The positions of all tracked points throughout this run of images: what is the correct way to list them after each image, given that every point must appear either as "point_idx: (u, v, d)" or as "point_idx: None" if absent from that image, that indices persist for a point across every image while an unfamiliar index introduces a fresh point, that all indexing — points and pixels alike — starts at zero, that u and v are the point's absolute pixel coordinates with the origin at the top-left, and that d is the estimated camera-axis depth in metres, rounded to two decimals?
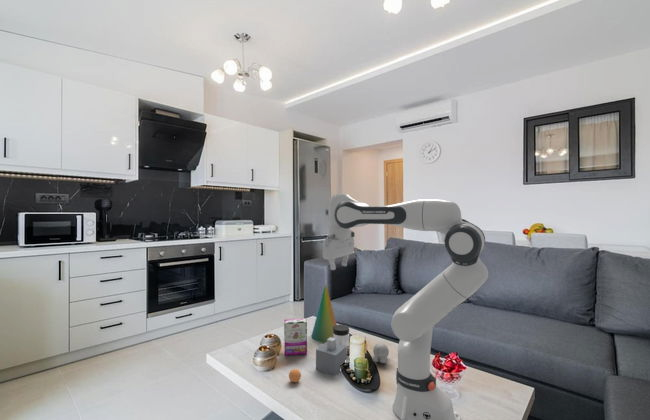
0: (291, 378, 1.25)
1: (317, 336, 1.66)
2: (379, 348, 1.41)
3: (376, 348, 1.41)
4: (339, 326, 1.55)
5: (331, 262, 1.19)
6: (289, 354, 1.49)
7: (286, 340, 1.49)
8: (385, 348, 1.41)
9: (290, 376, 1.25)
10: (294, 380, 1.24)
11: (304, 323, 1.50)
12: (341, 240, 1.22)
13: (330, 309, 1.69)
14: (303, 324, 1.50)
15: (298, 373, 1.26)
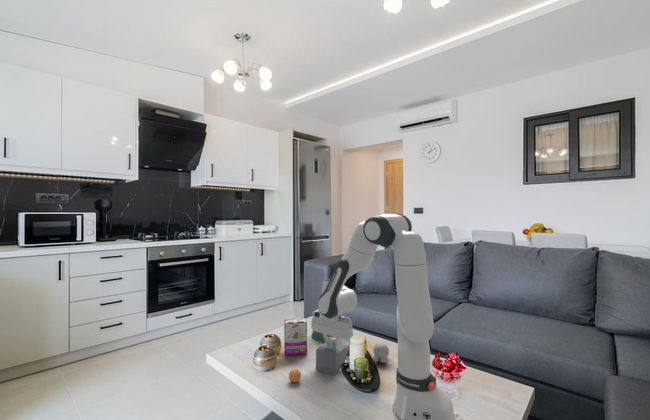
0: (291, 378, 1.25)
1: (317, 336, 1.66)
2: (379, 348, 1.41)
3: (376, 348, 1.42)
4: None
5: (339, 339, 1.36)
6: (289, 354, 1.49)
7: (286, 340, 1.49)
8: (385, 348, 1.41)
9: (290, 376, 1.25)
10: (294, 380, 1.24)
11: (304, 323, 1.50)
12: None
13: None
14: (303, 324, 1.50)
15: (298, 373, 1.26)
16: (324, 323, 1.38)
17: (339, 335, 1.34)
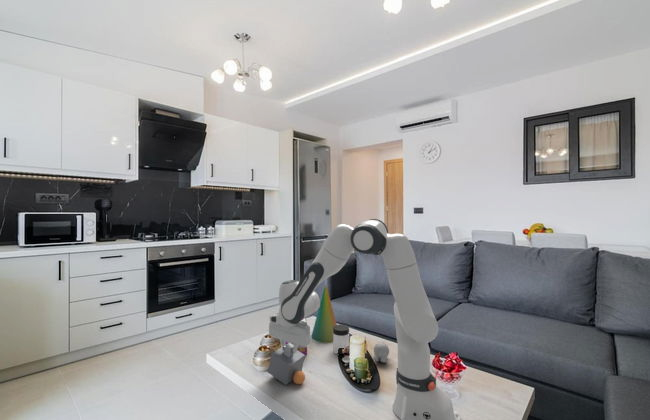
0: (295, 380, 1.23)
1: (317, 336, 1.66)
2: (380, 347, 1.41)
3: (377, 347, 1.42)
4: (339, 326, 1.55)
5: (297, 346, 1.27)
6: None
7: None
8: (386, 347, 1.42)
9: (295, 378, 1.24)
10: (297, 383, 1.24)
11: None
12: None
13: (330, 309, 1.69)
14: None
15: (303, 380, 1.24)
16: (281, 329, 1.29)
17: (296, 342, 1.24)
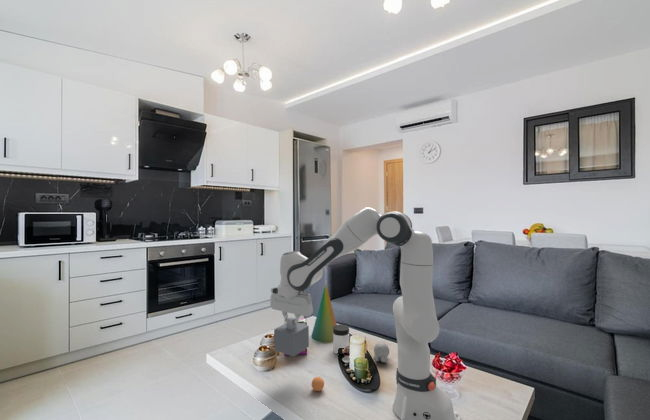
0: (314, 386, 1.19)
1: (317, 336, 1.66)
2: (380, 347, 1.41)
3: (377, 347, 1.42)
4: (339, 326, 1.55)
5: (298, 317, 1.26)
6: None
7: None
8: (386, 347, 1.42)
9: (313, 388, 1.19)
10: (315, 382, 1.19)
11: (304, 323, 1.50)
12: None
13: (330, 309, 1.69)
14: (303, 324, 1.50)
15: (314, 378, 1.22)
16: (283, 300, 1.28)
17: (298, 312, 1.23)
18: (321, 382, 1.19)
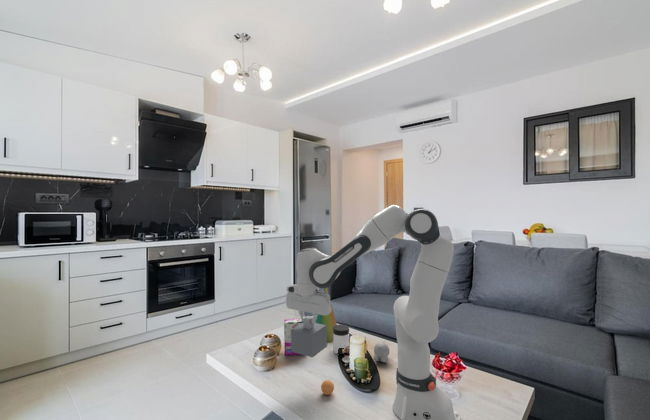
0: (324, 391, 1.16)
1: None
2: (380, 347, 1.42)
3: (377, 347, 1.42)
4: (339, 326, 1.55)
5: (316, 316, 1.21)
6: (289, 354, 1.49)
7: (286, 340, 1.49)
8: (386, 347, 1.42)
9: (323, 388, 1.17)
10: (328, 392, 1.16)
11: None
12: None
13: None
14: None
15: (331, 385, 1.17)
16: (299, 299, 1.23)
17: (316, 311, 1.19)
18: None
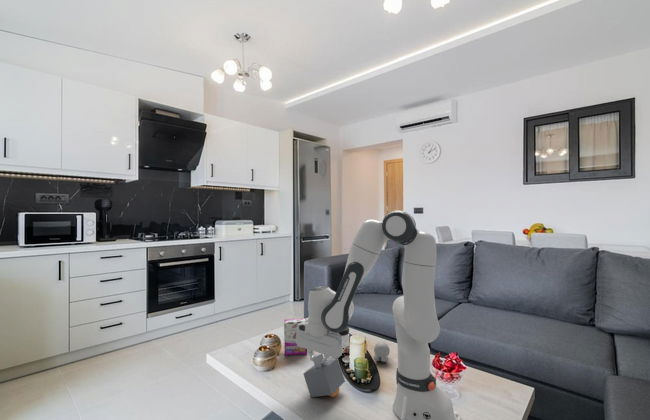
0: None
1: None
2: (380, 347, 1.42)
3: (377, 347, 1.43)
4: None
5: (328, 357, 1.18)
6: (289, 354, 1.49)
7: (286, 340, 1.49)
8: (386, 347, 1.42)
9: None
10: (331, 396, 1.15)
11: None
12: None
13: None
14: None
15: (337, 393, 1.16)
16: (310, 338, 1.21)
17: (327, 352, 1.16)
18: None
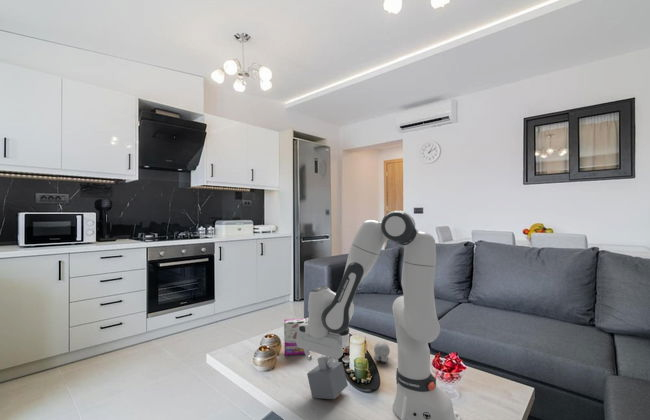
0: None
1: None
2: (380, 347, 1.42)
3: (377, 347, 1.43)
4: None
5: (333, 359, 1.17)
6: (289, 354, 1.49)
7: (286, 340, 1.49)
8: (386, 347, 1.42)
9: None
10: None
11: None
12: None
13: None
14: None
15: (338, 395, 1.16)
16: (310, 339, 1.21)
17: (327, 353, 1.16)
18: None
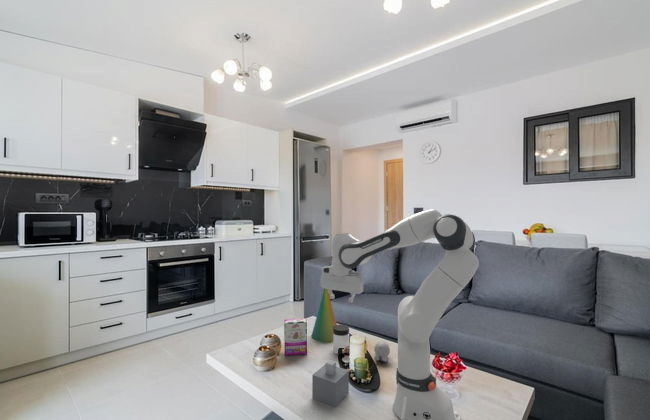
0: None
1: (317, 336, 1.66)
2: (380, 347, 1.42)
3: (377, 347, 1.43)
4: (339, 326, 1.55)
5: (354, 295, 1.32)
6: (289, 354, 1.49)
7: (286, 340, 1.49)
8: (386, 347, 1.43)
9: None
10: None
11: (304, 323, 1.50)
12: None
13: (330, 309, 1.69)
14: (303, 324, 1.50)
15: None
16: (334, 279, 1.36)
17: (349, 290, 1.31)
18: None
